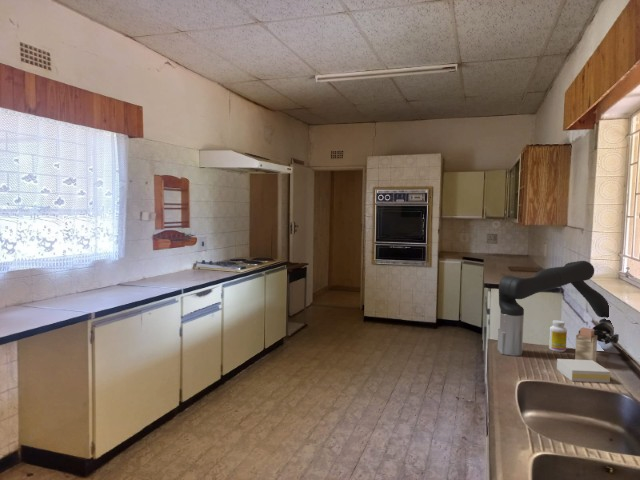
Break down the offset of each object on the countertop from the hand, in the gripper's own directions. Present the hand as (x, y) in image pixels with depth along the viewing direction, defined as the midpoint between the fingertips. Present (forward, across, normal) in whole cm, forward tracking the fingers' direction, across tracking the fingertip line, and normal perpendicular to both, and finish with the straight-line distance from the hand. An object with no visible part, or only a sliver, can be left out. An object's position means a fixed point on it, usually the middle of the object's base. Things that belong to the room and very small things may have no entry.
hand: (594, 339), depth 182 cm
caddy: (+12, 0, +7) cm, 14 cm away
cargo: (+11, 0, -3) cm, 12 cm away
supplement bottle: (+2, -14, +8) cm, 16 cm away
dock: (+27, +3, +7) cm, 28 cm away
